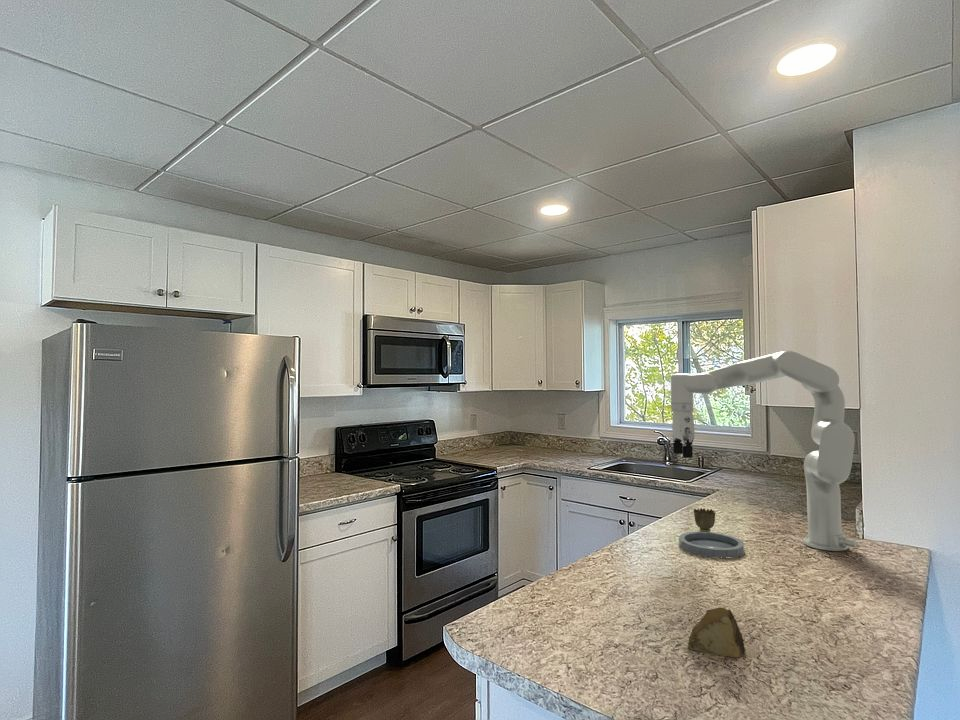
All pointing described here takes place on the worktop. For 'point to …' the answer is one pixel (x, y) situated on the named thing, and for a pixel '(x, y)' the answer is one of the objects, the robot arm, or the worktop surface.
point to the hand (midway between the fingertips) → (682, 455)
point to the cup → (704, 519)
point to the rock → (717, 634)
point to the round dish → (711, 544)
